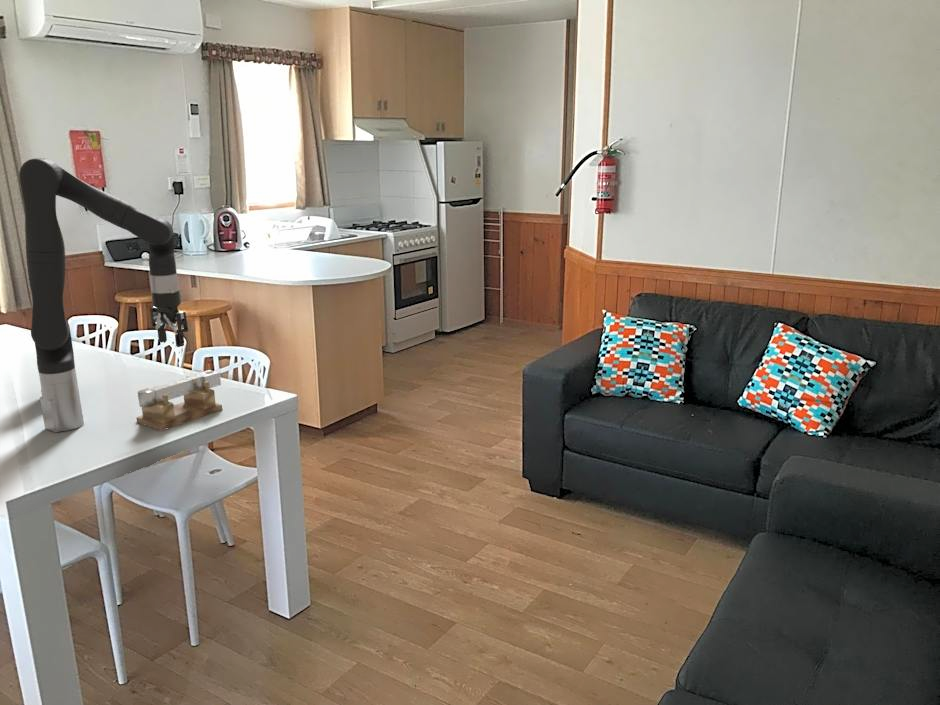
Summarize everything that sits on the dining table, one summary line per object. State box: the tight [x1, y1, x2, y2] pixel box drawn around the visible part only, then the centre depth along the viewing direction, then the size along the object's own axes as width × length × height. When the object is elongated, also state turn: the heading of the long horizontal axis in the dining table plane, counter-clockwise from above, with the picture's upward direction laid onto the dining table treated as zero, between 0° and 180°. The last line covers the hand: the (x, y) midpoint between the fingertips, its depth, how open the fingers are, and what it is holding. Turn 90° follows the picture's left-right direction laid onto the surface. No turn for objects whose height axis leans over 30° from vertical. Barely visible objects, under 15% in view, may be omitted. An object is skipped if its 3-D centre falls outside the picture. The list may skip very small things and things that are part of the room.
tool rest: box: [135, 375, 223, 431], centre depth 225 cm, size 21×12×10 cm, turn 145°
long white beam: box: [137, 369, 222, 408], centre depth 224 cm, size 26×5×4 cm, turn 145°
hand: (171, 344), depth 220 cm, fingers open, 8 cm apart
